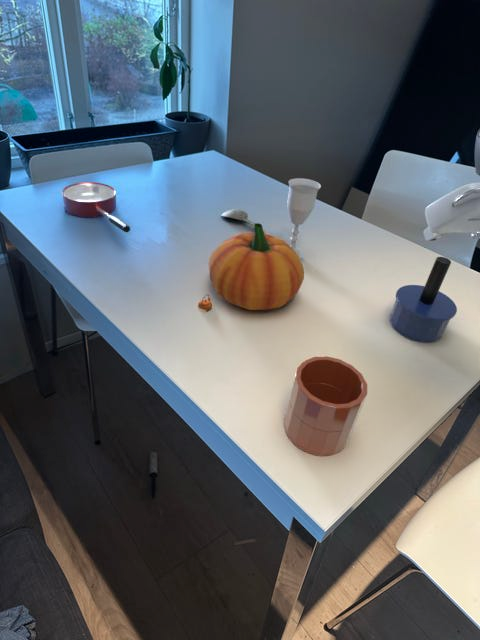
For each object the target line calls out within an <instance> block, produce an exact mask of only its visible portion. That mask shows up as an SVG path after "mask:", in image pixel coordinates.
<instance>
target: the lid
mask: <svg viewBox="0 0 480 640" xmlns="http://www.w3.org/2000/svg"><path fill="white" fill-rule="evenodd" d="M451 264H452V261H451V260H450V259H449V258H447V257H444V256H437V257H436V258H435V259H434V263H433V265H432V268H431V270H430V272H429V275H428V277H427V279H426V282H425V284H424V285H420V284H407V285H403V286H401V287H399V288H398V289H397V290H396V292H395V301H396V300H397V302H398V304H399V305H400V306H401V307H402V308H403V309H404V310H406V311H407V312H409V313H411V314H412V315H415V316H417V317H419V318H422V319H426V320H431V321H447V320H450V321H451V320H452V319H453V318H454V317H455V316H456V314H457V312H458V307H457V305H456V303H455V302H454V300H452V299H451V298H450V296H448V295H447V294H445V293H443V292H441V291H440V289H441V287H442V284H443V282H444V280H445V278H446V276H447V273H448V271H449V269H450V266H451Z"/></svg>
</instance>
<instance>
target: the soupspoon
mask: <svg viewBox="0 0 480 640" xmlns="http://www.w3.org/2000/svg"><path fill="white" fill-rule="evenodd" d="M220 216H221V217H224V218H229V219H230V218H231V219H235V220H239V221H243V222H245V223H247V224H249V225H251V226H252V227H254V224H255V223H254V222H253V221H250V220H248V217H249V215H248V213H247V212H246V211H244V210H242V209H238V208H237V209H236V208H234V209H229V210H226V211H224V212H223V213H222V214H221V215H220ZM263 231H264V233H265V234H268V235H270V234H269V233H268V232H267V231H265V230H264V229H263Z"/></svg>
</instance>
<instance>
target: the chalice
mask: <svg viewBox="0 0 480 640" xmlns="http://www.w3.org/2000/svg"><path fill="white" fill-rule="evenodd" d="M321 186H322V185H321V184H320V183H319V182H318V181H315V180H313V179H309V178H302V177H301V178H299V177H296V178H291V179H289V180H288V187H289V189H288V195H287V201H286V205H287V206H286V207H287V212H288V215H289V218H290V222H291V223H292V224H294V225H293V229H292V230H291V232H292V236H291V237H290V238H289V239H290V245H289V246H290V247H291V248H292V249H293V250H294V251H295V252H296V254H297V255H298V257H299V259H300V261H302V258H301V253H300V250H299V248H298V247H297V246H296V242H297V241H298V240H299V239H298V237H297V236H298V234H299V233H300V231H299V226H300V225H304V223H305V222H306V221H307V219H308V218H309V217H310V216H311V214H312V212H313V210H314V209H315V206H316V205H315V204H316V200H317V196H318V192H319V190H320V189H321Z"/></svg>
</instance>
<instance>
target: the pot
mask: <svg viewBox="0 0 480 640" xmlns="http://www.w3.org/2000/svg"><path fill="white" fill-rule="evenodd" d="M367 396H368V383H367V381H366V380H365V377H364V376H363V374H362V373H361V372H360V371H359V370H358V369H357V368H356V367H355V366H353V365H352V364H350V363H348V362H346V361H344V360H342V359H340V358H336V357H331V356H327V355H325V356H313V357H311V358H310V357H309V358H308V359H305V360H303V361H302V363H300V364H299V365H298V367H297V368H296V371H295V374H294V378H293V383H292V386H291V391H290V394H289V400H288V403H287V407H286V412H285V416H284V422H283V426H284V431H285V434H286V436H287V438H288V439H289V441H290V442H291V443H292V444H293V445H294V446H295V447H296V448H297V449H299V450H301V451H303V452H304V453H307V454H309V455H313V456H316V457H317V456H318V457H329V456H333V455H337V454H338V453H340V452H341V451H343V450H344V449H345V448H346V447H347V444H348V442H349V441H350V439H351V436H352V434H353V431H354V428H355V426H356V424H357V421H358V418H359V416H360V414H361V411H362V408H363V406H364V403H365V401H366V398H367Z"/></svg>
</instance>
